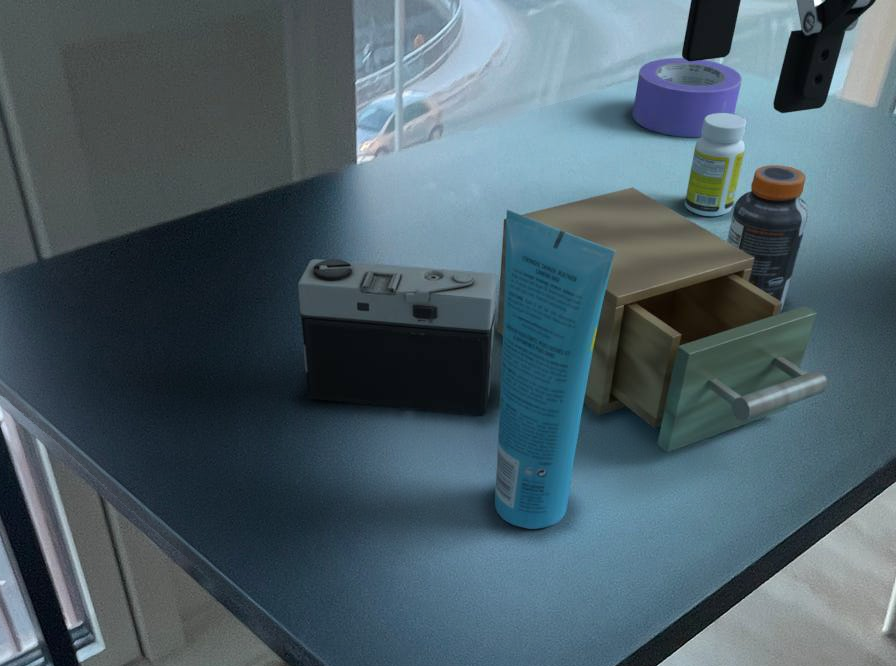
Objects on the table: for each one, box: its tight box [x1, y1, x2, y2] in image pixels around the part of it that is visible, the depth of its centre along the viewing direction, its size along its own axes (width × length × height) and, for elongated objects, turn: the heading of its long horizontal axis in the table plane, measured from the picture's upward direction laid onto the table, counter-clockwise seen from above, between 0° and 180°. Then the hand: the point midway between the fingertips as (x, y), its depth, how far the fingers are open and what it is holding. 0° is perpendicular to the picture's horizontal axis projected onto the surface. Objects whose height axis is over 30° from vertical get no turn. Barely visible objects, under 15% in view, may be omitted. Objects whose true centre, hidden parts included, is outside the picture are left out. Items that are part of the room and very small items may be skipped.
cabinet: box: [496, 187, 754, 416], centre depth 80 cm, size 15×13×10 cm
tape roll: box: [632, 57, 743, 138], centre depth 119 cm, size 12×12×5 cm
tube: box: [494, 209, 616, 530], centre depth 62 cm, size 7×5×19 cm, turn 52°
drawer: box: [610, 273, 828, 453], centre depth 74 cm, size 18×11×8 cm, turn 29°
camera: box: [297, 258, 498, 416], centre depth 76 cm, size 14×8×10 cm, turn 80°
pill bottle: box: [726, 164, 809, 311], centre depth 85 cm, size 6×6×11 cm
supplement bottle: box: [684, 113, 747, 217], centre depth 100 cm, size 5×5×8 cm
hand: (749, 82), depth 60 cm, fingers open, 9 cm apart
